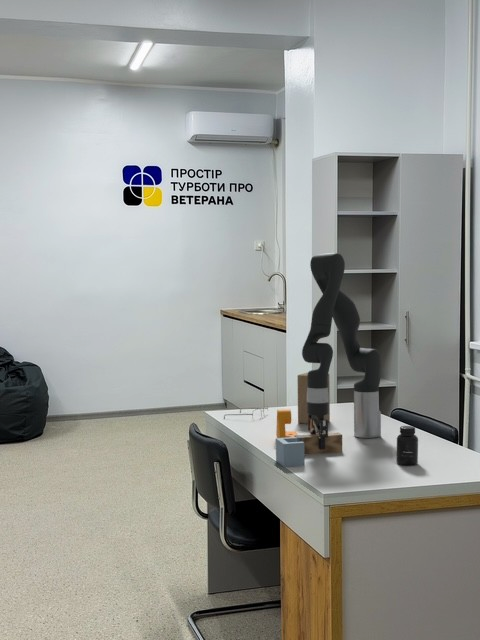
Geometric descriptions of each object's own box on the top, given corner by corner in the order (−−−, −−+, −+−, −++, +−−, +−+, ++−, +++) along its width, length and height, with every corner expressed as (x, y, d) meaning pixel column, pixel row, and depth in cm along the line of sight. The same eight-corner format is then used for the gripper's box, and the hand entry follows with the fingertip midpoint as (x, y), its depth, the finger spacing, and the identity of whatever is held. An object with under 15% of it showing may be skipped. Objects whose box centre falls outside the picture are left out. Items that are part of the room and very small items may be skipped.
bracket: (299, 444, 295) (299, 411, 295) (279, 445, 295) (279, 412, 294) (295, 438, 306) (295, 406, 305) (276, 438, 306) (276, 407, 305)
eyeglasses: (255, 422, 341) (255, 410, 341) (223, 419, 347) (223, 408, 347) (270, 415, 355) (270, 404, 355) (240, 413, 362) (239, 402, 362)
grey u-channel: (296, 459, 272) (295, 437, 272) (304, 465, 264) (304, 442, 263) (276, 460, 271) (275, 438, 270) (283, 466, 262) (283, 443, 262)
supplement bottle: (405, 467, 259) (405, 430, 259) (392, 462, 266) (392, 426, 265) (422, 464, 263) (422, 427, 262) (408, 460, 269) (408, 424, 268)
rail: (338, 449, 286) (338, 432, 286) (342, 452, 282) (342, 435, 282) (294, 452, 282) (294, 435, 282) (298, 455, 278) (298, 437, 278)
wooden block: (330, 421, 338) (329, 373, 337) (319, 425, 329) (318, 376, 328) (308, 419, 343) (308, 372, 342) (297, 423, 335) (296, 374, 334)
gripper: (335, 403, 275) (335, 450, 276) (321, 396, 289) (321, 442, 290) (313, 404, 273) (314, 451, 274) (301, 397, 287) (301, 443, 288)
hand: (317, 446), depth 282 cm, fingers open, 8 cm apart
